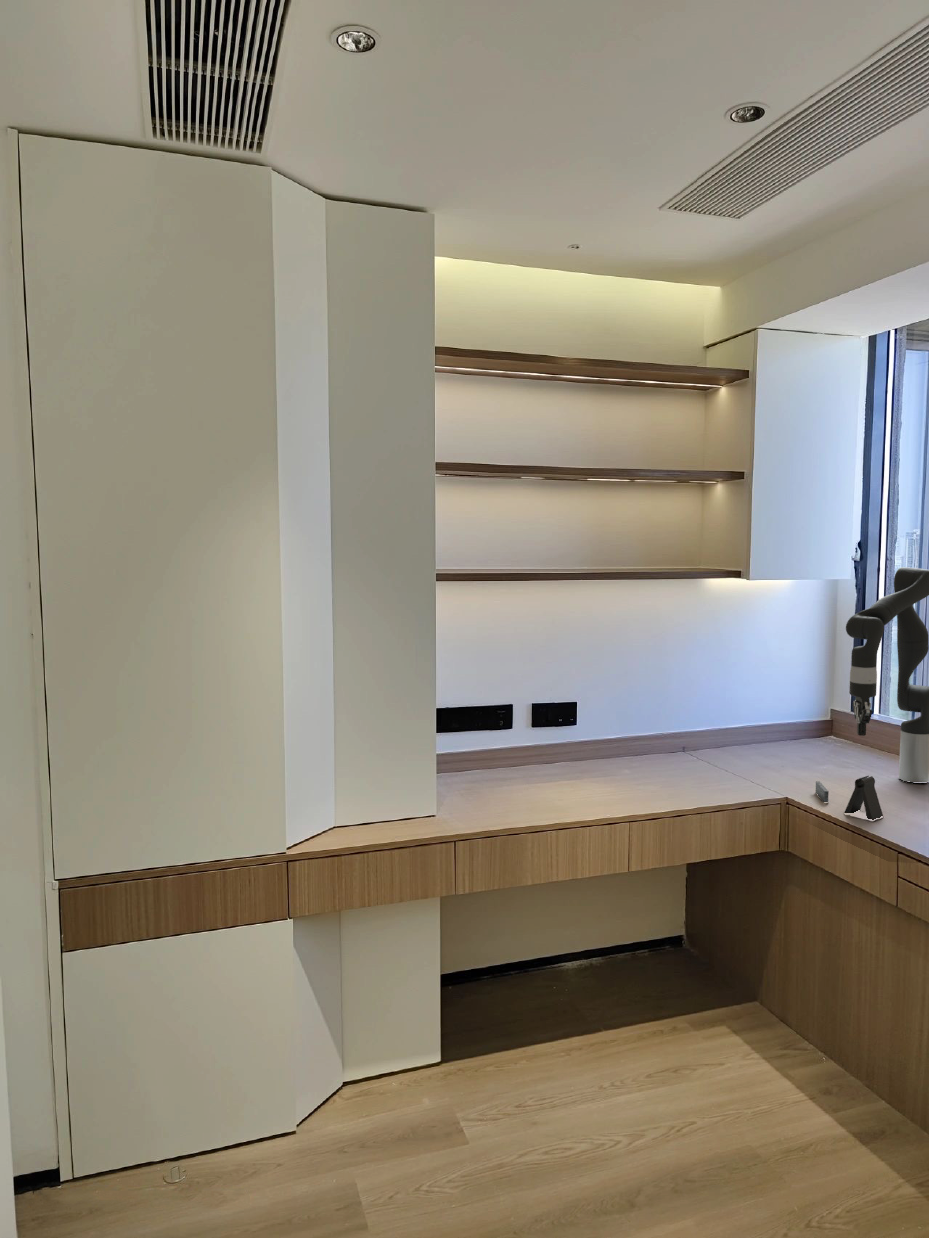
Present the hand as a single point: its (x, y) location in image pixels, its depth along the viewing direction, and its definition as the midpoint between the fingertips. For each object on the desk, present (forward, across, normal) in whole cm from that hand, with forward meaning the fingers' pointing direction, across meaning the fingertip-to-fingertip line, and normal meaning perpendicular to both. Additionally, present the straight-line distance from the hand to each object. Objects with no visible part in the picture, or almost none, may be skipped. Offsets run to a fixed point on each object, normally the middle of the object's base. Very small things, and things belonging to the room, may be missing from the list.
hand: (861, 734), depth 257 cm
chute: (+22, +4, +3) cm, 23 cm away
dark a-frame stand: (+22, -13, +2) cm, 26 cm away
